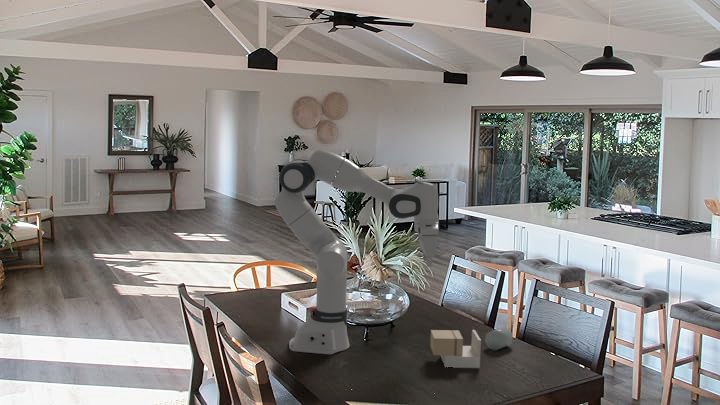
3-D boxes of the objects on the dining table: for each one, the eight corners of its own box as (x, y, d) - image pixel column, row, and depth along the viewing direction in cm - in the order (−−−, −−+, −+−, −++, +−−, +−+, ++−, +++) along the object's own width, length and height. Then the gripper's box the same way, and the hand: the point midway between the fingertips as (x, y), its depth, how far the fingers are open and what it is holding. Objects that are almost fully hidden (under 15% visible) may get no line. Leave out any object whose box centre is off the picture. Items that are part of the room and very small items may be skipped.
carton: (433, 355, 226) (434, 338, 225) (430, 346, 235) (430, 329, 234) (462, 355, 226) (463, 338, 226) (458, 346, 235) (458, 330, 235)
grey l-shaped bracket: (445, 367, 226) (446, 339, 225) (440, 355, 237) (441, 329, 235) (479, 368, 226) (481, 340, 225) (473, 356, 237) (474, 329, 236)
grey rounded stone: (492, 327, 244) (504, 323, 249) (481, 338, 248) (493, 334, 253) (504, 343, 241) (516, 338, 246) (493, 354, 244) (505, 349, 250)
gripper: (414, 221, 248) (415, 257, 250) (421, 231, 227) (421, 270, 229) (431, 221, 248) (432, 257, 250) (439, 230, 228) (439, 269, 229)
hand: (427, 263), depth 239 cm, fingers open, 8 cm apart
